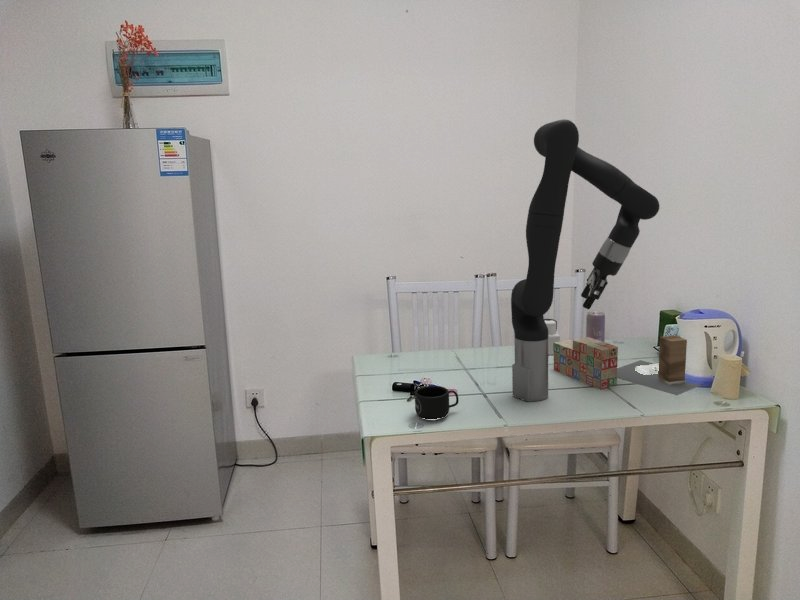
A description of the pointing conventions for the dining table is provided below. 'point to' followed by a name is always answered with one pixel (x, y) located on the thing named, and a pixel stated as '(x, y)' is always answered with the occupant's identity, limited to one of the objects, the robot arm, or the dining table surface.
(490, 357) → the dining table surface
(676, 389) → the mat
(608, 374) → the stack of blocks
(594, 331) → the beverage can
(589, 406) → the dining table surface
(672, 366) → the wooden block
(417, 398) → the mug
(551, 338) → the medicine bottle
